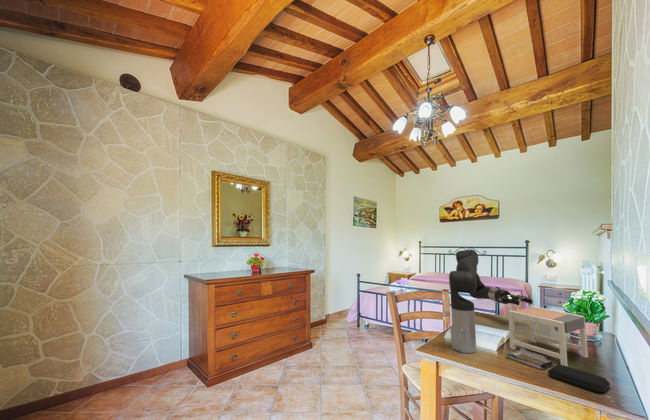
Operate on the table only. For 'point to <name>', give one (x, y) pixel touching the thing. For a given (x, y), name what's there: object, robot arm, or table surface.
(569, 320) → the trapdoor
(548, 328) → the plain beige rectangular block
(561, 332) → the trapdoor stand
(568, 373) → the carrying case or bag
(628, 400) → the table surface
